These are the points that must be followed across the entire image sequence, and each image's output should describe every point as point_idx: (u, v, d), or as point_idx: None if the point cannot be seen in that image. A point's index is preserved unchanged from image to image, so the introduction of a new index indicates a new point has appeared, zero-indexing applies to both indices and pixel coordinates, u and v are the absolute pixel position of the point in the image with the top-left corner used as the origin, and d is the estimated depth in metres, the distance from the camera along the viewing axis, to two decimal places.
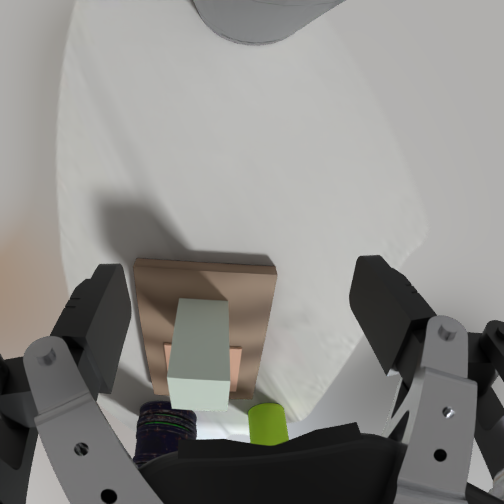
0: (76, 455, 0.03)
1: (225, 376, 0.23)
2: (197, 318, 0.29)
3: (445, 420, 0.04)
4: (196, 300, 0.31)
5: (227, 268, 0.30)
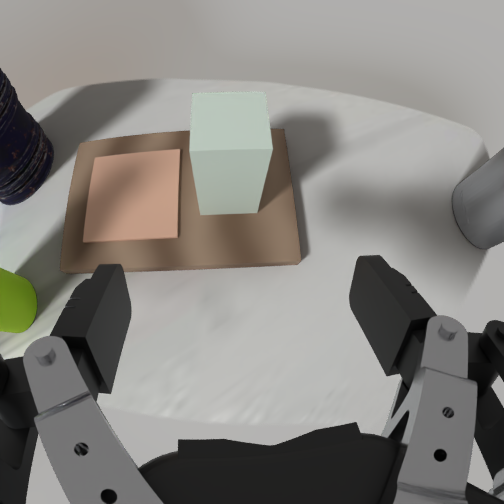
0: (76, 455, 0.03)
1: None
2: None
3: (445, 420, 0.04)
4: None
5: None
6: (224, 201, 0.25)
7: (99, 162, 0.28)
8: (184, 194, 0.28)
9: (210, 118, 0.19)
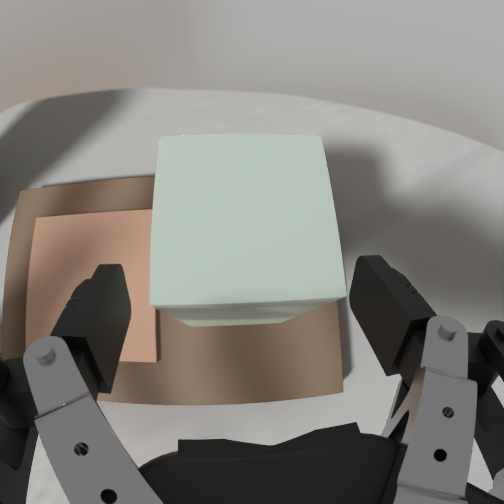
0: (76, 455, 0.03)
1: None
2: None
3: (445, 420, 0.04)
4: None
5: None
6: (230, 322, 0.15)
7: (41, 226, 0.17)
8: None
9: (198, 207, 0.08)
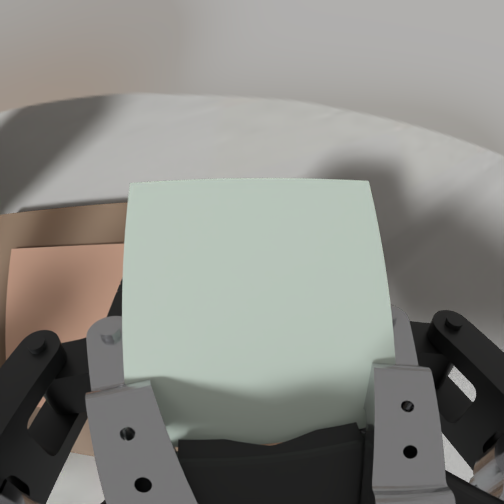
0: (120, 439, 0.04)
1: None
2: None
3: (406, 414, 0.04)
4: None
5: None
6: None
7: (17, 259, 0.14)
8: None
9: (191, 306, 0.05)
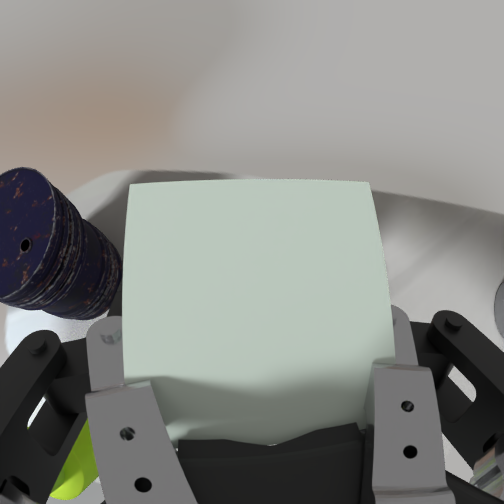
0: (120, 439, 0.04)
1: None
2: None
3: (406, 414, 0.04)
4: None
5: None
6: None
7: None
8: None
9: (191, 308, 0.05)
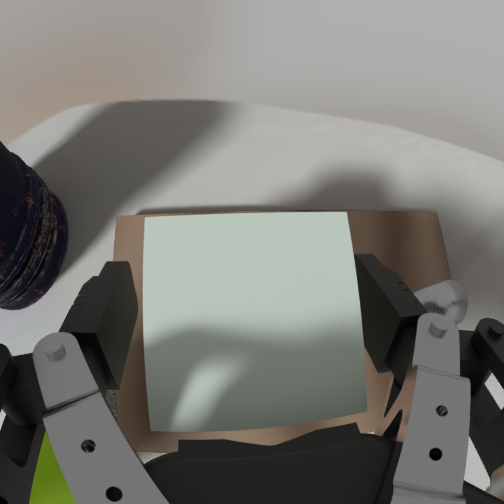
0: (83, 452, 0.03)
1: None
2: None
3: (439, 419, 0.04)
4: None
5: None
6: None
7: None
8: None
9: (198, 319, 0.07)
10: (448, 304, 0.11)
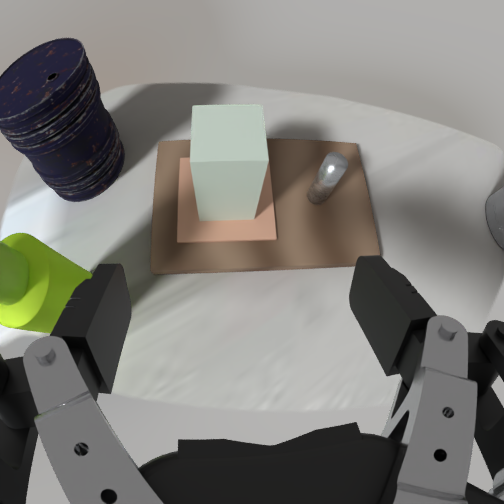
0: (76, 455, 0.03)
1: None
2: None
3: (445, 420, 0.04)
4: None
5: None
6: (223, 208, 0.26)
7: (186, 163, 0.30)
8: (277, 199, 0.30)
9: (209, 130, 0.20)
10: (334, 162, 0.24)
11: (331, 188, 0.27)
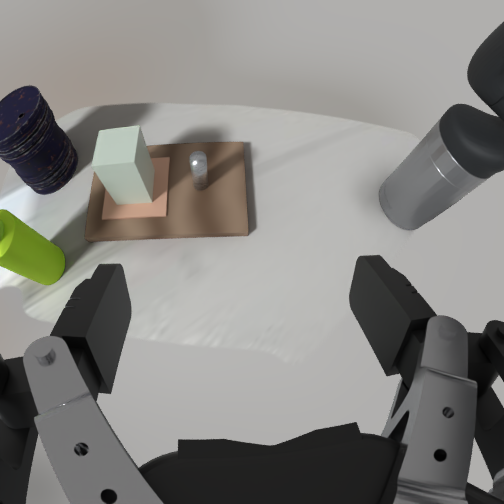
0: (76, 455, 0.03)
1: (135, 161, 0.31)
2: (149, 172, 0.38)
3: (445, 420, 0.04)
4: (153, 180, 0.40)
5: None
6: (126, 195, 0.37)
7: None
8: (171, 188, 0.41)
9: (105, 146, 0.30)
10: (195, 158, 0.35)
11: (201, 177, 0.38)
